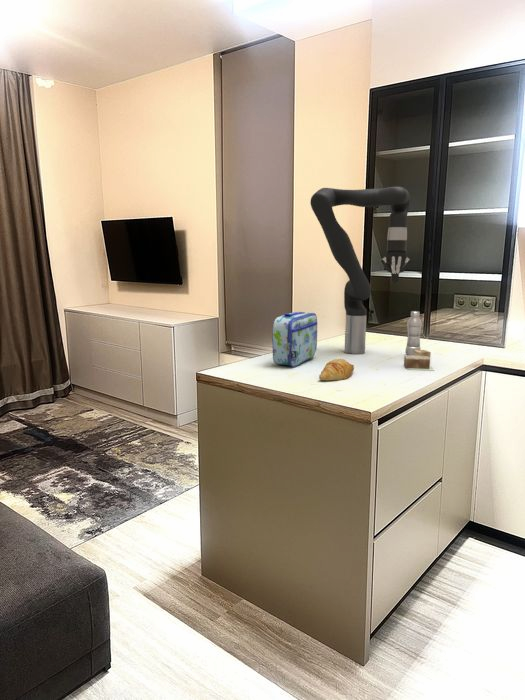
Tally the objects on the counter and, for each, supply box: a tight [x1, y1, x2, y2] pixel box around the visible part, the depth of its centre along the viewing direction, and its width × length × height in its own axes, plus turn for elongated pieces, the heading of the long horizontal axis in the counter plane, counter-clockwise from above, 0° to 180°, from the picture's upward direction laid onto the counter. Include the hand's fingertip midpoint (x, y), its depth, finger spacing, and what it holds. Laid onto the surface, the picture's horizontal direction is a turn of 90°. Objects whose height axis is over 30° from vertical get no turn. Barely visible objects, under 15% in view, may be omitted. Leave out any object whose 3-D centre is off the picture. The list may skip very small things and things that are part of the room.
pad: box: [406, 364, 435, 372], centre depth 208 cm, size 10×10×1 cm
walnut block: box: [403, 354, 431, 369], centre depth 208 cm, size 4×6×9 cm
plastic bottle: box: [405, 310, 423, 356], centre depth 228 cm, size 6×7×20 cm
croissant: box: [318, 358, 355, 382], centre depth 192 cm, size 21×10×8 cm, turn 140°
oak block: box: [414, 349, 432, 359], centre depth 217 cm, size 5×5×5 cm
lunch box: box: [271, 311, 318, 368], centre depth 215 cm, size 26×11×21 cm, turn 150°
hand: (394, 282), depth 211 cm, fingers closed
